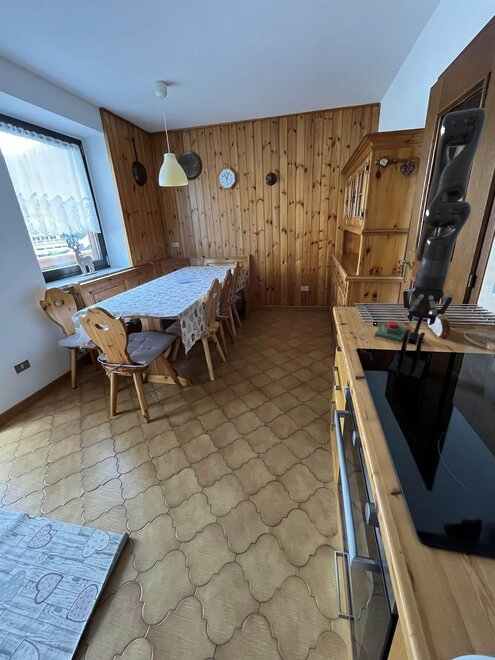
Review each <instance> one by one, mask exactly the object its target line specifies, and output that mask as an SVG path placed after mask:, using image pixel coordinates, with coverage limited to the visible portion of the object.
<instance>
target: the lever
mask: <svg viewBox="0 0 495 660" xmlns="http://www.w3.org/2000/svg"><path fill="white" fill-rule="evenodd" d="M431 315H432V314H427V313H422V312H416V311H414V314H413V316H417V317H419V320H417V322H416V325H415V327H414V330H413V332H411V331H410V335H409V340H408V344H407V345H412V346H417V344H418V339H419V337H420V333H419V331H420V329H421V326H422V323H423V322H424V320H423V318H428V319H430V318H431Z"/></svg>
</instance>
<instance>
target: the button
mask: <svg viewBox="0 0 495 660" xmlns="http://www.w3.org/2000/svg"><path fill="white" fill-rule="evenodd" d="M386 323H387V327H388V328H392V329H396V328H397V326H398V325H399V323H398V322H396V321H391V320H390V321H387V322H386Z"/></svg>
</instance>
